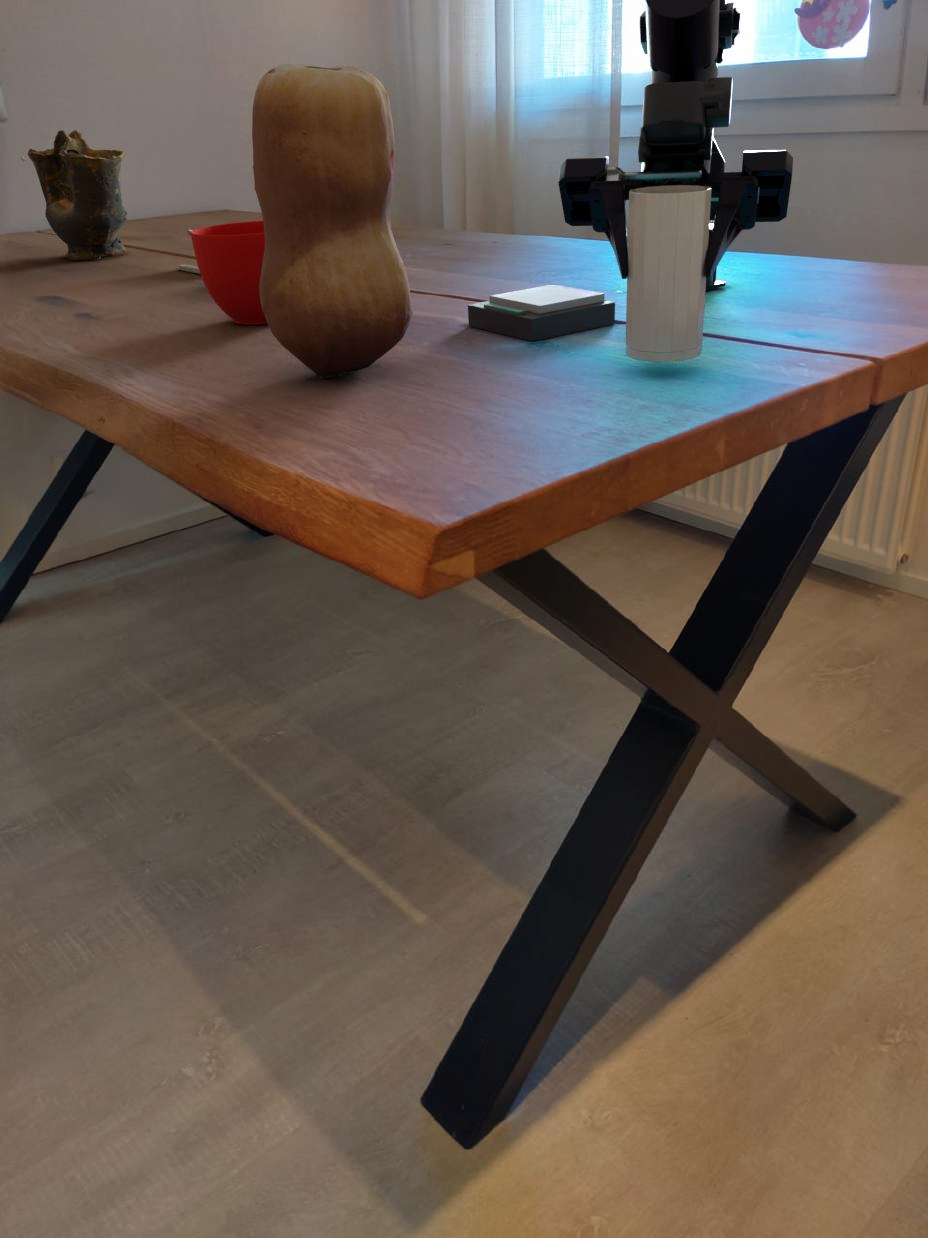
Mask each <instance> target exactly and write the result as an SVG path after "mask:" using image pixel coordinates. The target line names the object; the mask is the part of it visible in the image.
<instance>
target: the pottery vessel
mask: <svg viewBox="0 0 928 1238" xmlns="http://www.w3.org/2000/svg"><path fill="white" fill-rule="evenodd" d="M27 157H28V158H29V160H30V161H31V162H32V164H33V166H34V168H35V171H36V175H37V178H38V180H39V184H40V188H41V191H42V194H43V198H44V200H45V214H44V215H45V218H46V221H47V223H48V224H49V227H50V228H51V229H52V230H53V232H54V233H55V234H56V235H57V237H58V238H59V239H60V240H61V241H62V242H63V243H64V244H66V245H67V253H66V254H65V257H66V259H68V260H70V261H88V260H92V261H93V260H94V261H95V260H101V257H103V256H104V257H108V256H113V255H114V254H115V250H116V249H117V250H119V251H120V252H123V253H125V254H126V253H127V249H126V247H125V245H124V244H123V242H122V241H123V240H121V236H120V235H121V233H122V231H123V229H124V226H125V225H126V221H127V215H128V212H127V211H126V209H125V207H124V206H123V198H122V189H121V187H122V186H121V168H122V167H121V166H122V162H123V160H124V158H125V157H126V152H125V151H123V150H119V149H98V148H97V149H96V148H92V147H91V146H90V145H89V143H88V142H87V140H85V139H84V138H83V134H82V133H81V132H80V131H79V130H75V129H73V130H72V131H71V132H70V133H67V132H65V130H64V129H62V130H58V131H57V133H56V135H55V137H54V141H53V148H47V149H45V150H36V149H33V148H29V149H28V151H27Z"/></svg>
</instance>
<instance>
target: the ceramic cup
mask: <svg viewBox="0 0 928 1238" xmlns="http://www.w3.org/2000/svg"><path fill="white" fill-rule="evenodd" d="M192 230H193V231H192V232H191V235H190V238H191V243H192V249H193V252H194V256H195V260H196V264H197V267H199V271H200V274H199V275H200V277H201V279H202V281H203V284H204V286H205V288H206V290H207V292H208V294H209V296H210V298H212V300H213V301H214V303H215V304H216V306H217V307H219V309H220V310H221V311H222V312H224V314H225V315H226V316H228V317H229V318H230V319H231V320H232V322H233V323H235V324H238V325H244V326H245V325H246V326H247V325H249V326H251V325H253V326H254V325H255V326H257V325H268V323H267V320H266V317H265V314H264V312H262V310H263V309H262V306H261V301H260V278H261V271H262V265H263V258H264V252H265V234H264V222H263V220H253V221H240V222H231V223H223V224H222V223H221V224H215V225H209V226H204V227H200V228H196V229H192Z"/></svg>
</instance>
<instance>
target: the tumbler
mask: <svg viewBox="0 0 928 1238" xmlns="http://www.w3.org/2000/svg"><path fill="white" fill-rule="evenodd" d="M710 205H711V187H708V186H701V185H664V186H651V187H642V188H636V189H632V190H630V191H629V200H628V223H627V239H628V263H627V279H626V308H625V309H626V310H625V355H626V357H628V358H630V359H633V360H636V361H641V362H650V363H674V362H684V361H689V360H693V359H695V358H698V357H700V356H701V355H702V350H703V338H704V337H703V336H704V323H705V321H704V320H705V307H706V305H705V304H706V290H705V289H706V277H705V276H706V260H707V251H708V239H709V224H710Z"/></svg>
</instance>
